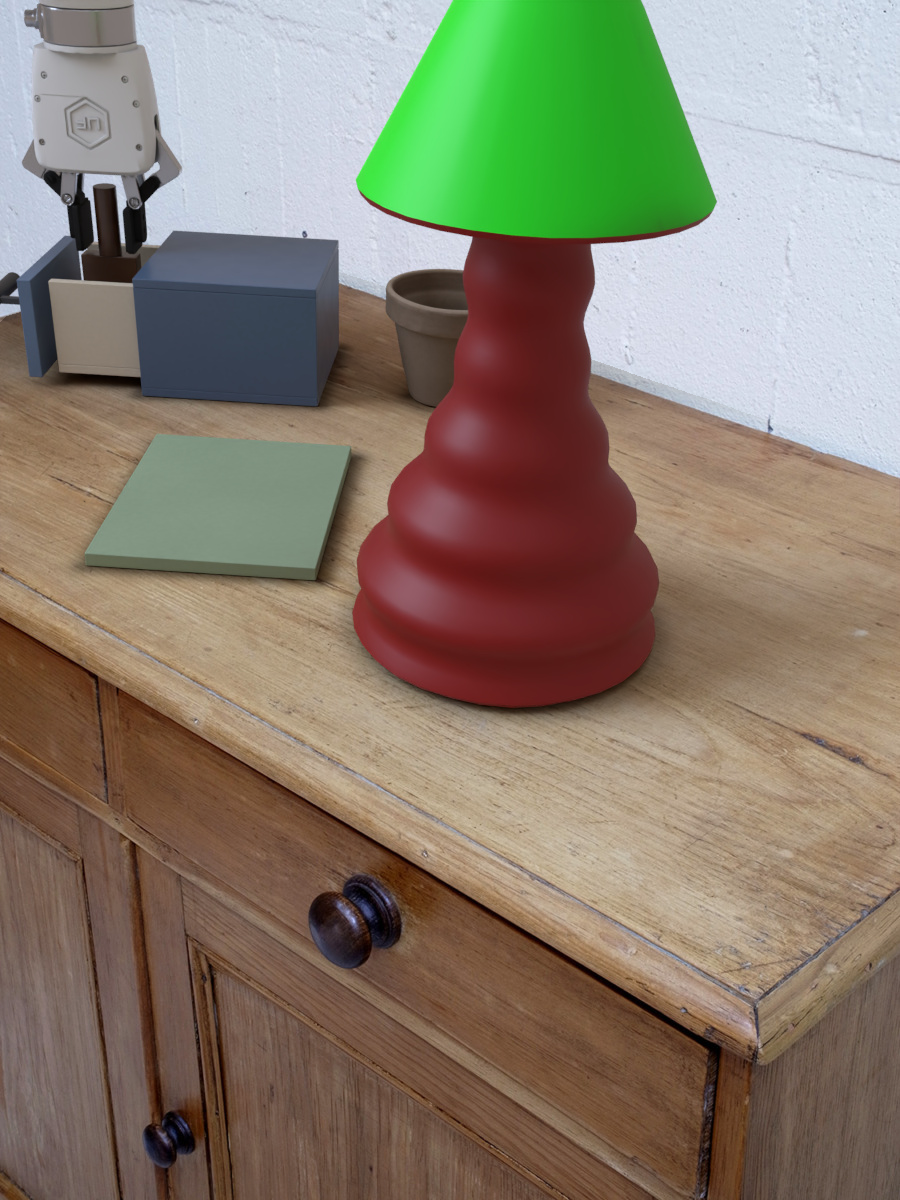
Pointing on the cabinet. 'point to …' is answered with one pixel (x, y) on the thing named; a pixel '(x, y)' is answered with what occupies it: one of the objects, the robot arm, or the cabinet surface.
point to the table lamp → (524, 350)
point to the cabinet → (238, 318)
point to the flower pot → (428, 328)
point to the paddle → (108, 242)
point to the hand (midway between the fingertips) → (109, 246)
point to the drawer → (75, 315)
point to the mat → (225, 508)
